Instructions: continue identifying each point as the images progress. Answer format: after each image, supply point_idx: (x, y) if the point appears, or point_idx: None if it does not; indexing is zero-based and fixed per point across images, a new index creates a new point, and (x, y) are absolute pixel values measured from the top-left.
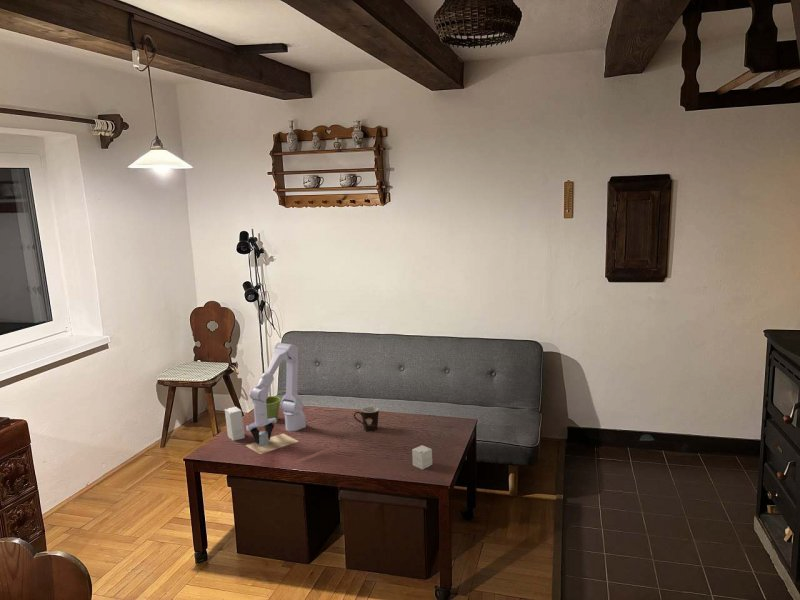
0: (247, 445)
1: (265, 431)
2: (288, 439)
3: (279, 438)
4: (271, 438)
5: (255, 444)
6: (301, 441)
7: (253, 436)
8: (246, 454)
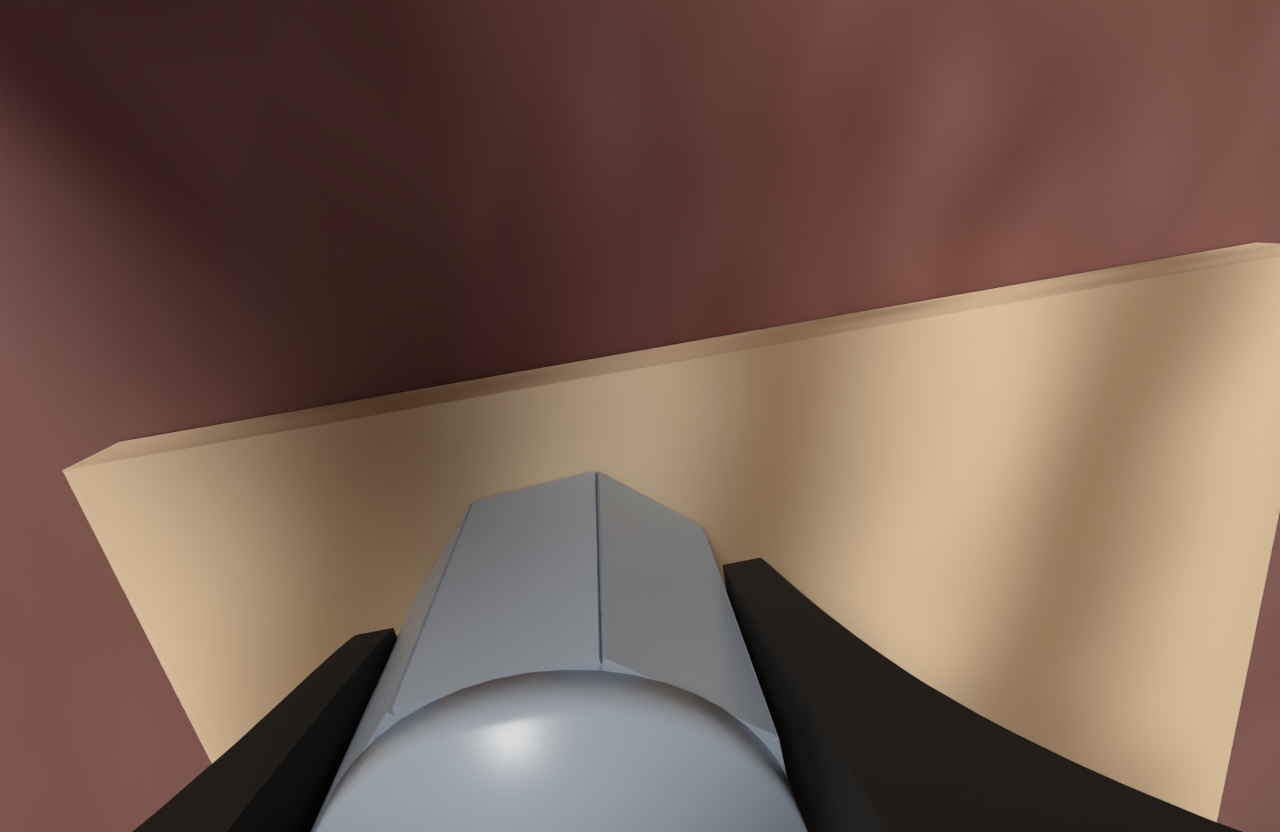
0: (136, 512)
1: (768, 827)
2: (1142, 696)
3: (1043, 538)
4: (895, 423)
5: (372, 567)
6: (1261, 748)
7: (174, 803)
8: (113, 784)
